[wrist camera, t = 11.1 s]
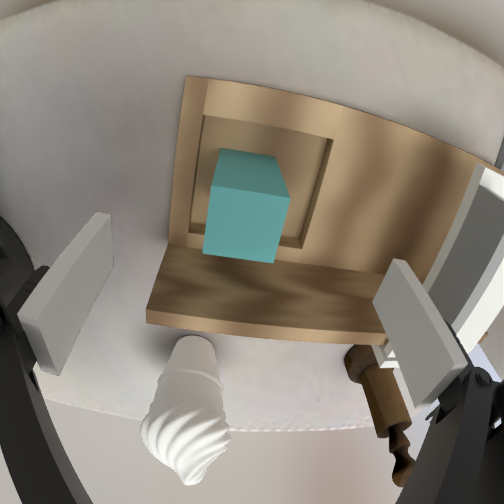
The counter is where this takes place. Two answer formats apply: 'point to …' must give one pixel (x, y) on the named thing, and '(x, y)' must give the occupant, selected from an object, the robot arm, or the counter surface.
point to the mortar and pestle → (383, 406)
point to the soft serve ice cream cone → (187, 411)
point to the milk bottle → (495, 344)
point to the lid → (468, 265)
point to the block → (246, 207)
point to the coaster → (500, 159)
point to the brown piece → (304, 215)
